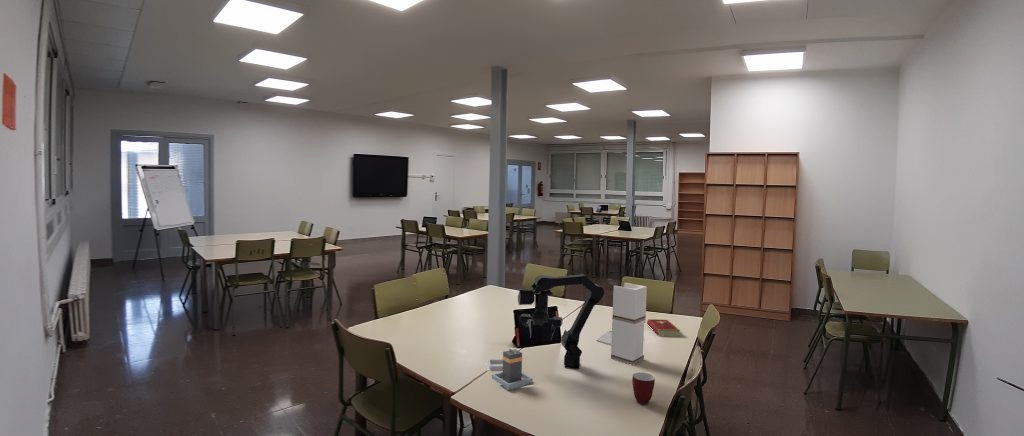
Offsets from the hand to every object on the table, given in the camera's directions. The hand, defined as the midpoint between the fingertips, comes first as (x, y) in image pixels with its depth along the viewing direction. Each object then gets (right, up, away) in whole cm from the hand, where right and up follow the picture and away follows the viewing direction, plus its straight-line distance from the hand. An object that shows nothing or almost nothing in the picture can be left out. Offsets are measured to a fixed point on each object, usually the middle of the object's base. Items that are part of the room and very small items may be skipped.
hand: (540, 339), depth 210 cm
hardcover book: (+74, -11, +61) cm, 96 cm away
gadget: (+45, -12, +42) cm, 63 cm away
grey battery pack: (-13, -13, -16) cm, 24 cm away
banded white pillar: (+42, -13, +14) cm, 46 cm away
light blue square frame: (-13, -14, -16) cm, 24 cm away
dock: (-18, -13, -1) cm, 22 cm away
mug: (+37, -16, -30) cm, 50 cm away
